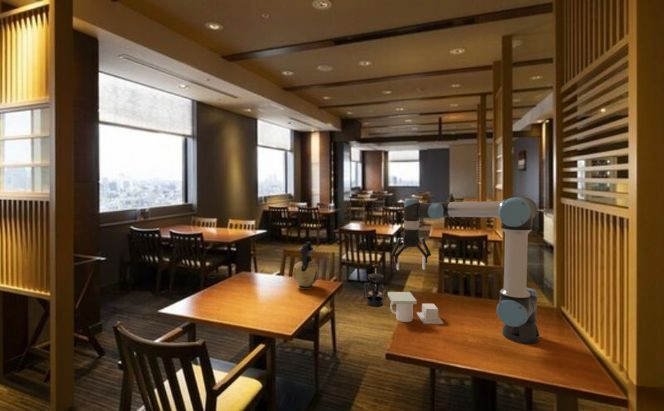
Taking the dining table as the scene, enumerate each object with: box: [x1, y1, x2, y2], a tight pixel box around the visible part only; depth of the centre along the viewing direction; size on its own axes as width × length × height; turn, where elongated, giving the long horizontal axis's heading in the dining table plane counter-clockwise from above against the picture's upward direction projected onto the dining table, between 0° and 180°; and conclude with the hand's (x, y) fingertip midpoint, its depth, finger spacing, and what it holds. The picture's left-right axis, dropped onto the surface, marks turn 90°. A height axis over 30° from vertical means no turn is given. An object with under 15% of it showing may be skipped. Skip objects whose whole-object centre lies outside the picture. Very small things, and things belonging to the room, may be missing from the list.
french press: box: [363, 264, 384, 308], centre depth 204 cm, size 12×9×23 cm
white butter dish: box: [416, 303, 444, 325], centre depth 184 cm, size 14×10×6 cm
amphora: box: [292, 240, 320, 290], centre depth 234 cm, size 18×17×30 cm
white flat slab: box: [387, 291, 418, 305], centre depth 183 cm, size 14×12×2 cm
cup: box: [389, 301, 414, 323], centre depth 183 cm, size 8×12×10 cm
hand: (410, 269), depth 184 cm, fingers open, 13 cm apart
